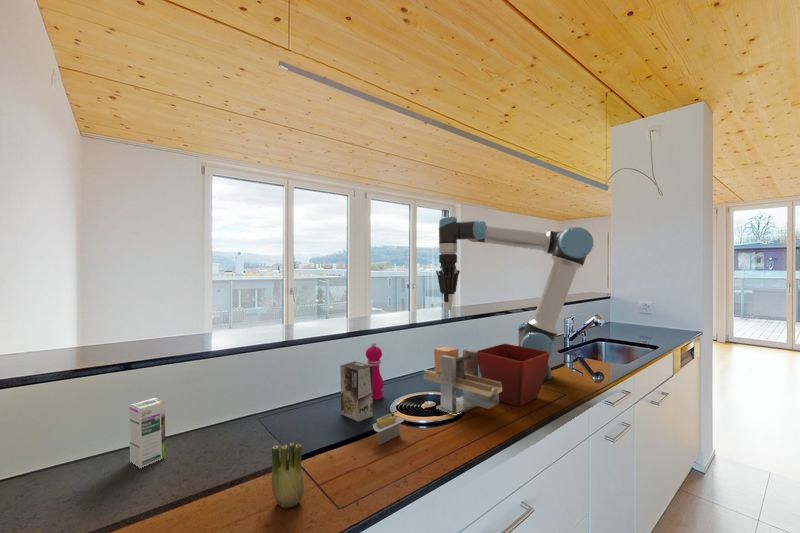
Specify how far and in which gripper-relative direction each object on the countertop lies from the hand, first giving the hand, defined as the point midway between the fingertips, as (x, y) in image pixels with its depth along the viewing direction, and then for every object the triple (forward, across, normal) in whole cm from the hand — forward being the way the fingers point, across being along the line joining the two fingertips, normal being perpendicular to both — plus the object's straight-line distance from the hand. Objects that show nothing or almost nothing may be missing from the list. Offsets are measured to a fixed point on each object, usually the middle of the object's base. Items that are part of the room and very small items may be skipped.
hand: (448, 309), depth 152 cm
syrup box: (+30, +104, -9) cm, 109 cm away
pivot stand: (+29, +20, +22) cm, 42 cm away
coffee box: (+30, +50, +4) cm, 58 cm away
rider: (+21, +20, +16) cm, 33 cm away
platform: (+30, +53, +23) cm, 65 cm away
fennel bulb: (+30, +85, +30) cm, 95 cm away
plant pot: (+30, 0, +30) cm, 42 cm away
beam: (+26, +20, +22) cm, 40 cm away
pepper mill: (+30, +36, -5) cm, 47 cm away
